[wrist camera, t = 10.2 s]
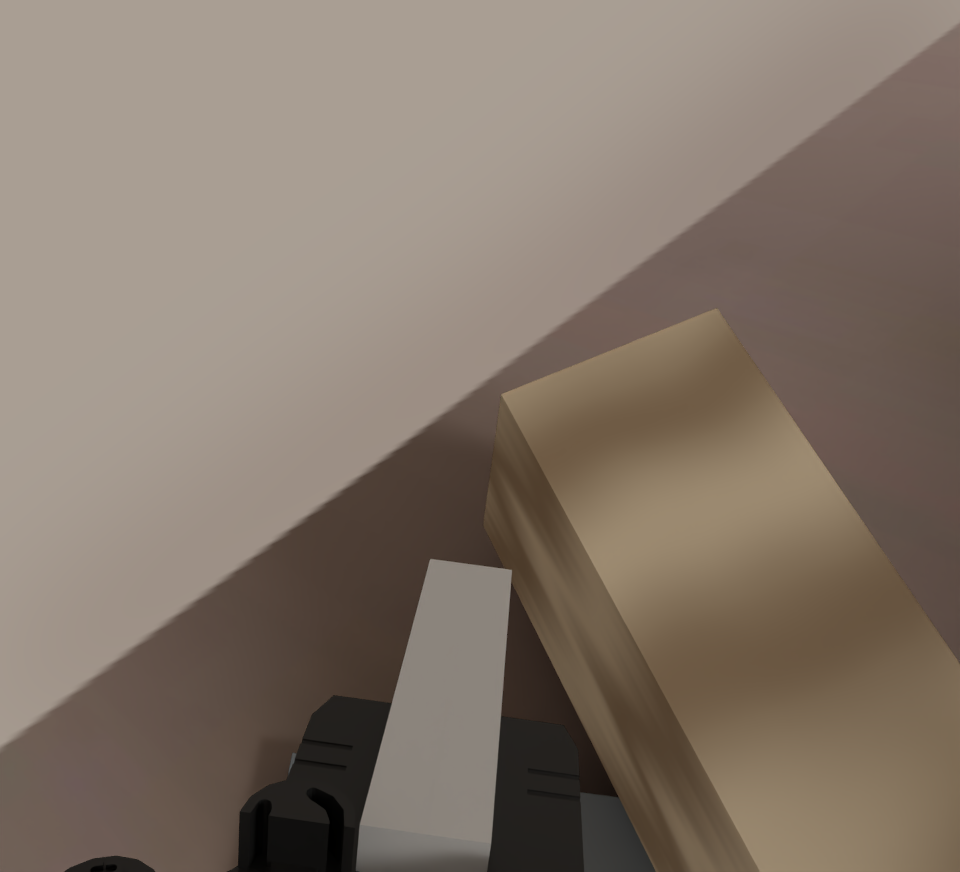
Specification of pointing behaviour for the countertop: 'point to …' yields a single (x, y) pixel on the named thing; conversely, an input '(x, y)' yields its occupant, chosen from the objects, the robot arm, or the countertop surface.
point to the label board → (606, 836)
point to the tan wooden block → (725, 617)
